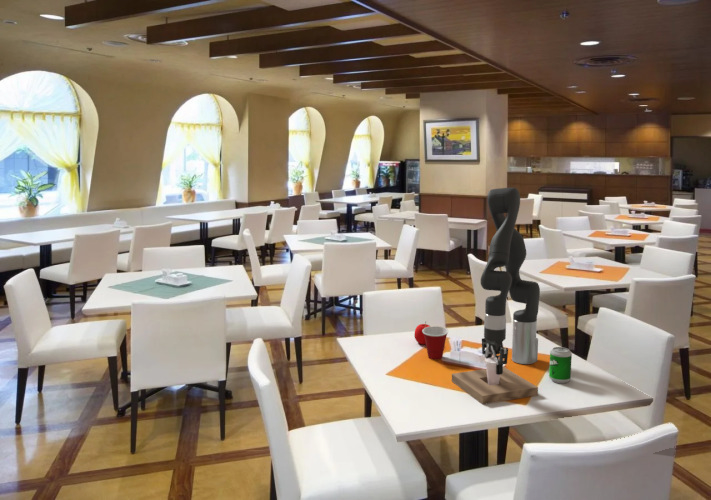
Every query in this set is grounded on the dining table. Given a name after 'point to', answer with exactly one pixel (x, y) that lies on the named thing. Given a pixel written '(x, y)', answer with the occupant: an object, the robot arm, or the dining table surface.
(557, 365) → the soda can
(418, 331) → the fruit
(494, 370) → the smoothie
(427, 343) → the plastic cup
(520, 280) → the robot arm
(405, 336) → the dining table surface
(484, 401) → the socket board
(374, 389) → the dining table surface
